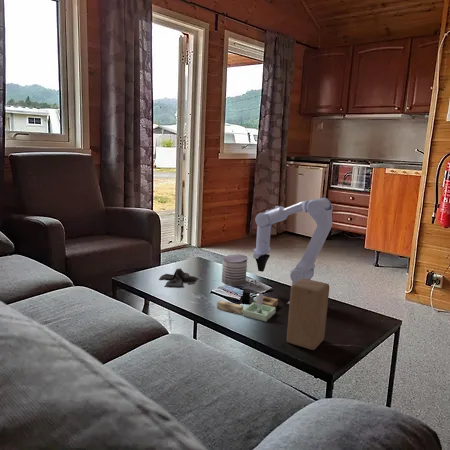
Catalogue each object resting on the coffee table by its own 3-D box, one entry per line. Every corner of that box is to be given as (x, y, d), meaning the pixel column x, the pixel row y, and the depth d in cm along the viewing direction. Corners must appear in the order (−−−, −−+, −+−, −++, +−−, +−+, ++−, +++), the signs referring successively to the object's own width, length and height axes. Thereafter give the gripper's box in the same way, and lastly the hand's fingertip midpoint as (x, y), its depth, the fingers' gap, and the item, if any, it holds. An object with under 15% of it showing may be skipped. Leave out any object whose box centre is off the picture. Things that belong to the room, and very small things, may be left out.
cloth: (169, 291, 179) (170, 277, 177) (150, 279, 193) (150, 266, 192) (213, 283, 192) (213, 270, 190) (192, 272, 206) (192, 260, 205)
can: (248, 286, 189) (249, 260, 187) (223, 286, 187) (224, 260, 185) (243, 278, 200) (245, 253, 198) (220, 277, 198) (221, 253, 196)
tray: (275, 313, 160) (275, 307, 160) (266, 321, 152) (266, 315, 152) (252, 307, 164) (253, 302, 164) (242, 315, 156) (243, 310, 156)
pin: (263, 312, 159) (264, 293, 157) (260, 314, 157) (261, 295, 155) (257, 311, 160) (258, 292, 158) (254, 313, 158) (255, 294, 156)
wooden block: (314, 352, 131) (320, 291, 128) (284, 342, 137) (290, 284, 133) (324, 340, 140) (330, 283, 136) (296, 332, 145) (301, 276, 141)
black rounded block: (253, 308, 166) (253, 297, 165) (234, 306, 167) (235, 295, 166) (256, 297, 178) (256, 286, 177) (239, 295, 179) (239, 284, 178)
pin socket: (277, 304, 169) (277, 299, 168) (271, 310, 162) (271, 304, 162) (261, 301, 172) (261, 295, 171) (254, 306, 165) (254, 300, 165)
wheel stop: (243, 312, 159) (243, 305, 159) (240, 314, 157) (240, 307, 157) (219, 306, 164) (220, 300, 163) (216, 308, 162) (217, 302, 161)
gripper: (261, 236, 186) (259, 265, 189) (247, 242, 174) (245, 273, 176) (275, 238, 183) (273, 268, 186) (263, 244, 170) (261, 276, 173)
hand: (261, 271), depth 181 cm, fingers closed
